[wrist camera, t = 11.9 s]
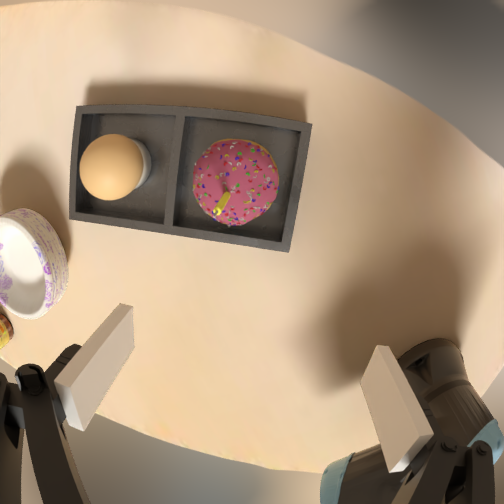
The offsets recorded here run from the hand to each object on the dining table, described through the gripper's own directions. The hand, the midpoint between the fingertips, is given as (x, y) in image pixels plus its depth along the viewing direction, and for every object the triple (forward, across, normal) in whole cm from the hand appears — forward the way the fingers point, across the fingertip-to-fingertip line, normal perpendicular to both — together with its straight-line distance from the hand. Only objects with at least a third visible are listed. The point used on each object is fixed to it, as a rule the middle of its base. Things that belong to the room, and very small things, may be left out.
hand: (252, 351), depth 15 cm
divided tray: (+22, +10, -7) cm, 25 cm away
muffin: (+21, +17, -7) cm, 28 cm away
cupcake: (+22, +4, -7) cm, 23 cm away
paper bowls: (+22, +32, +8) cm, 40 cm away
